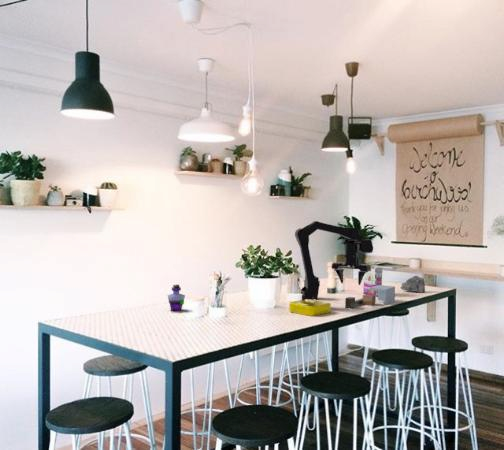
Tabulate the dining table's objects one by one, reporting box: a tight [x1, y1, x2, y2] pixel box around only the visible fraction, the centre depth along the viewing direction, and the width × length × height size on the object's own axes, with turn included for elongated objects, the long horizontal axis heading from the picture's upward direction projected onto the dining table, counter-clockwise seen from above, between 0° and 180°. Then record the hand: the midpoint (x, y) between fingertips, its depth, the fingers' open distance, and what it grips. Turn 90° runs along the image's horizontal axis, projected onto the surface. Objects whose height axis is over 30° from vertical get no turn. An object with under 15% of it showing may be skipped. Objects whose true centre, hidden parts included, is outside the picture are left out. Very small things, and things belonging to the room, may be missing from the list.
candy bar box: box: [363, 265, 383, 297], centre depth 304 cm, size 11×5×16 cm, turn 25°
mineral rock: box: [400, 275, 426, 294], centre depth 320 cm, size 13×11×10 cm
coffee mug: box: [303, 279, 321, 300], centre depth 288 cm, size 12×9×10 cm
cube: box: [362, 294, 377, 307], centre depth 272 cm, size 5×5×5 cm
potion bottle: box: [167, 284, 186, 312], centre depth 248 cm, size 9×9×12 cm
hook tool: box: [344, 296, 363, 310], centre depth 267 cm, size 21×6×5 cm, turn 147°
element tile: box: [288, 299, 331, 317], centre depth 248 cm, size 15×15×5 cm
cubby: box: [369, 284, 396, 306], centre depth 280 cm, size 14×9×8 cm, turn 146°
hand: (350, 284), depth 261 cm, fingers open, 9 cm apart
